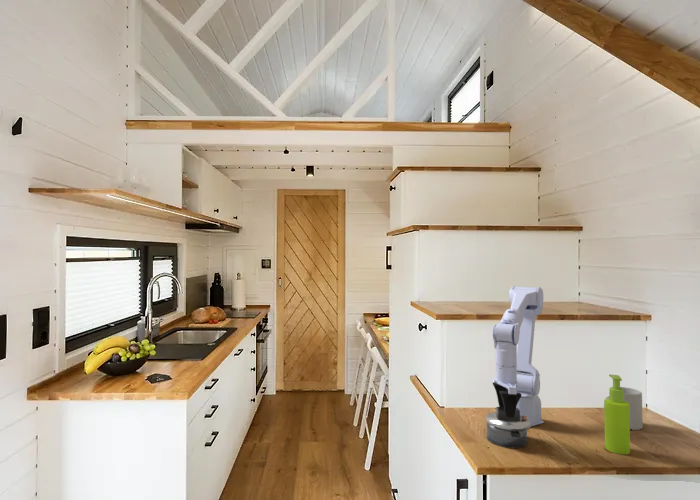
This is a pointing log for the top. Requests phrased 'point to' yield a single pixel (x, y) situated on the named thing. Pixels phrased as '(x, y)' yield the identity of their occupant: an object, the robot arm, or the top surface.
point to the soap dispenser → (617, 419)
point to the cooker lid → (508, 420)
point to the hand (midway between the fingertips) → (506, 412)
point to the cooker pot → (506, 437)
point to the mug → (634, 407)
